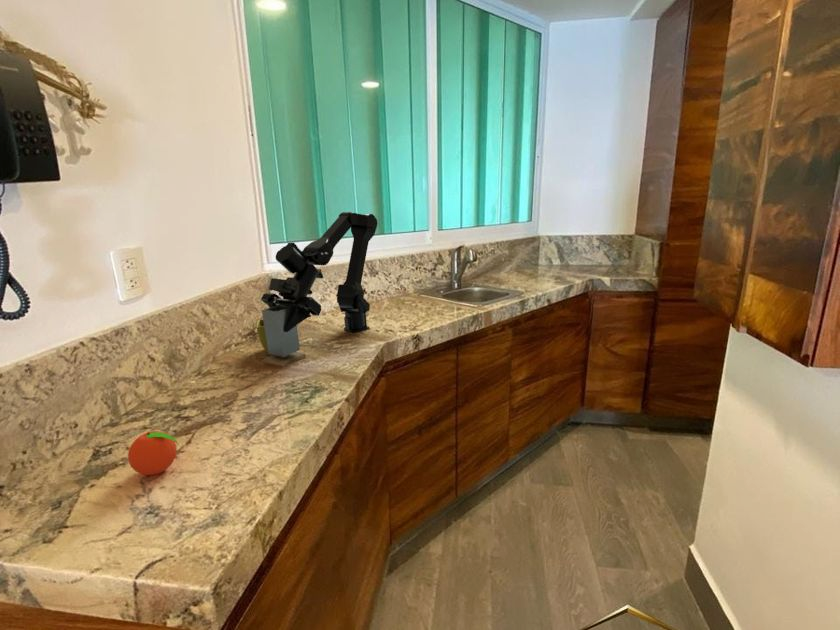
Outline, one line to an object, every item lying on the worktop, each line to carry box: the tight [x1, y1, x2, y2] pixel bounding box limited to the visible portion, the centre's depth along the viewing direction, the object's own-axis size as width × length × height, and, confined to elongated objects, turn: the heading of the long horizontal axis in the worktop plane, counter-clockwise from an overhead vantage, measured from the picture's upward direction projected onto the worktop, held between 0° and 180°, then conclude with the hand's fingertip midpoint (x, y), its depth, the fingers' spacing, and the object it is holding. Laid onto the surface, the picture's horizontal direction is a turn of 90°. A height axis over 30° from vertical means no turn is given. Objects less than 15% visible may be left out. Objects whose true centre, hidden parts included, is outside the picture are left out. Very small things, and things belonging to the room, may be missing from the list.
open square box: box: [261, 305, 301, 357], centre depth 123 cm, size 6×6×12 cm
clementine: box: [127, 430, 179, 476], centre depth 74 cm, size 8×7×7 cm
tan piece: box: [263, 351, 307, 368], centre depth 124 cm, size 8×8×5 cm
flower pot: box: [255, 318, 269, 354], centre depth 132 cm, size 9×9×9 cm
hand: (277, 330), depth 121 cm, fingers closed on open square box, 6 cm apart
